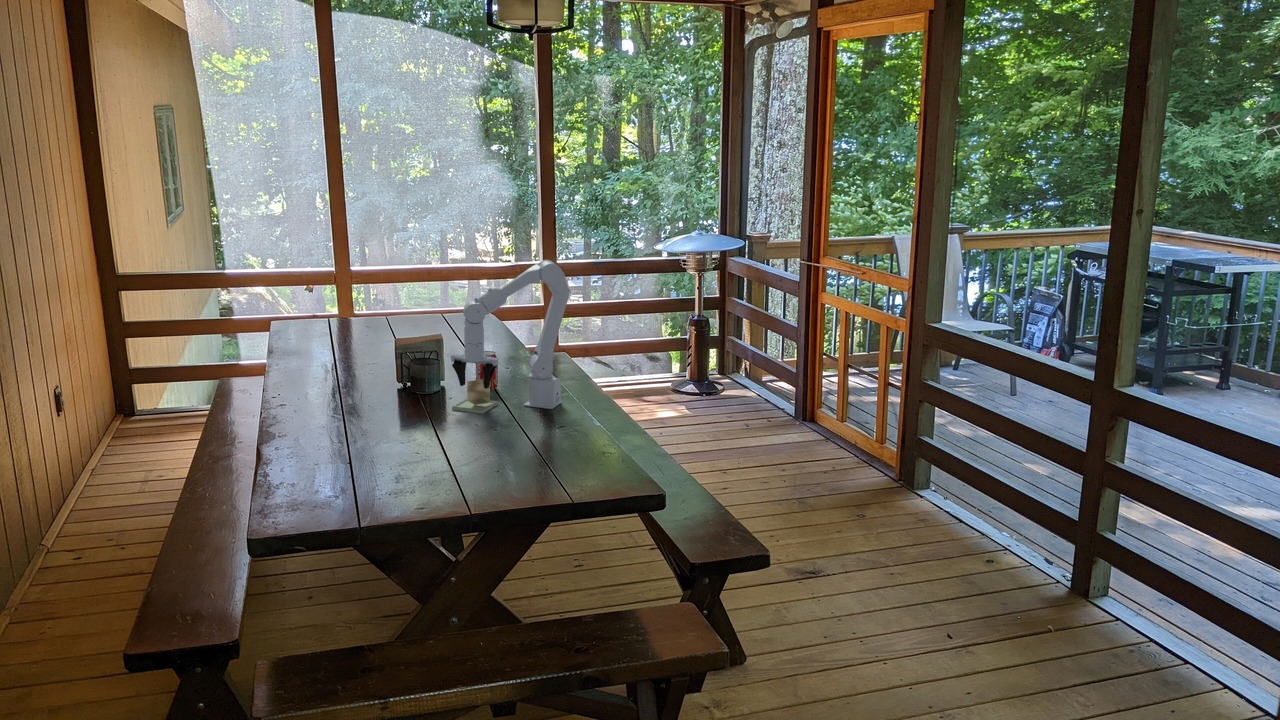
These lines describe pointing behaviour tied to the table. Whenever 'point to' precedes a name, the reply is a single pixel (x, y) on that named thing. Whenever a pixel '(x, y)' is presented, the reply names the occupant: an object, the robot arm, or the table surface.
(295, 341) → the table surface
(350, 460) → the table surface
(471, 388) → the maple block
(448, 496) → the table surface
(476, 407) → the tray
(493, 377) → the soda can
